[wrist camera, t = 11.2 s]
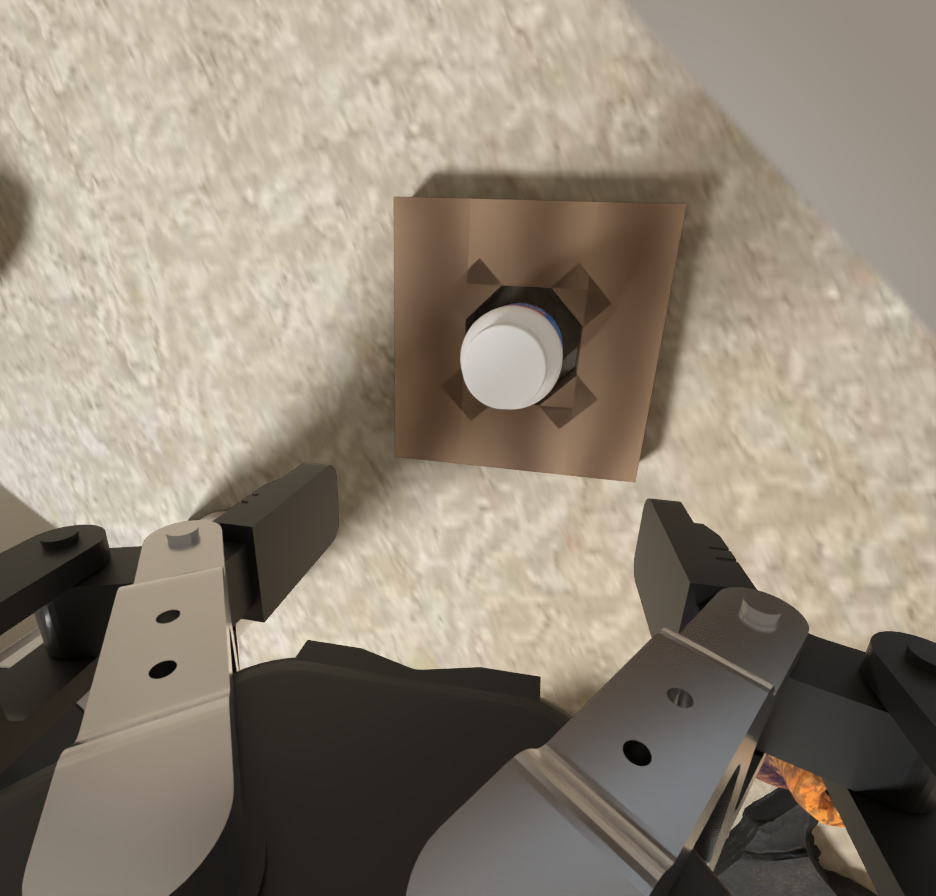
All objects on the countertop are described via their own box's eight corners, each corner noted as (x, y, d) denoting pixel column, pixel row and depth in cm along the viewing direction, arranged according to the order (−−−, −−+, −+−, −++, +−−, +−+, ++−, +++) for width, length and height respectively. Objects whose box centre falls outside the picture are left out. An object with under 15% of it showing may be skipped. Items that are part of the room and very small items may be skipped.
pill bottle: (554, 292, 30) (554, 294, 20) (569, 375, 31) (575, 412, 22) (470, 313, 31) (436, 323, 22) (489, 392, 32) (463, 433, 23)
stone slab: (950, 892, 43) (999, 969, 38) (784, 937, 49) (810, 1008, 45) (804, 764, 39) (840, 834, 34) (643, 831, 45) (655, 898, 40)
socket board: (405, 445, 35) (395, 456, 32) (406, 203, 29) (393, 196, 27) (629, 468, 32) (635, 482, 30) (674, 211, 27) (686, 204, 25)
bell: (679, 721, 39) (706, 813, 32) (781, 624, 35) (837, 707, 28) (800, 788, 39) (852, 894, 32) (917, 700, 35) (1005, 801, 28)
